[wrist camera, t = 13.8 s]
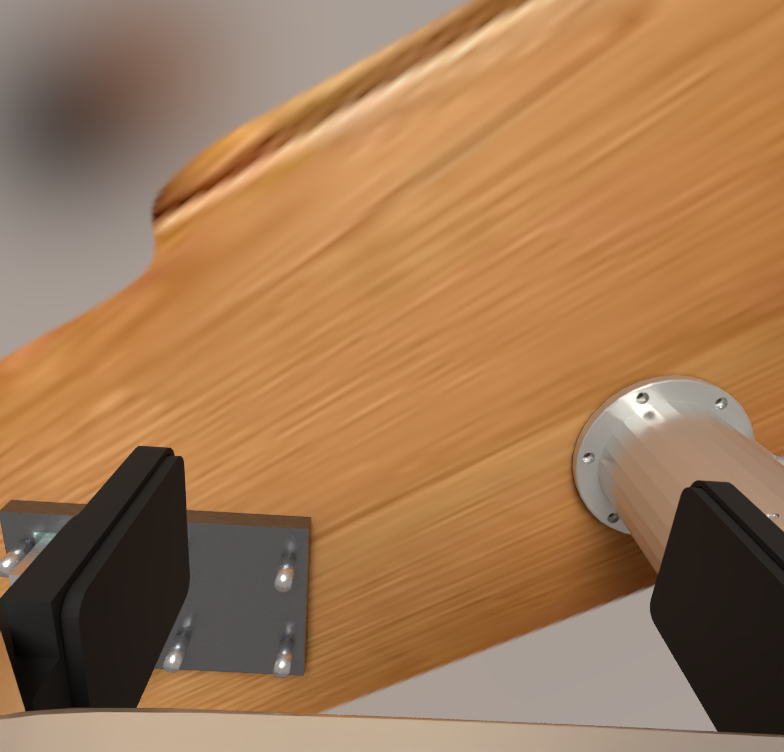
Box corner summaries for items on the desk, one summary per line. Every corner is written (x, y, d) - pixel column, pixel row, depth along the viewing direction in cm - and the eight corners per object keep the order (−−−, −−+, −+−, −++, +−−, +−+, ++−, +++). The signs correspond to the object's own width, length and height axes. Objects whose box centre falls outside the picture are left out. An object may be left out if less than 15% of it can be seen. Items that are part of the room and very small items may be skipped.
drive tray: (310, 517, 44) (303, 550, 40) (305, 660, 49) (299, 702, 45) (11, 500, 43) (-25, 532, 39) (36, 647, 48) (6, 689, 44)
